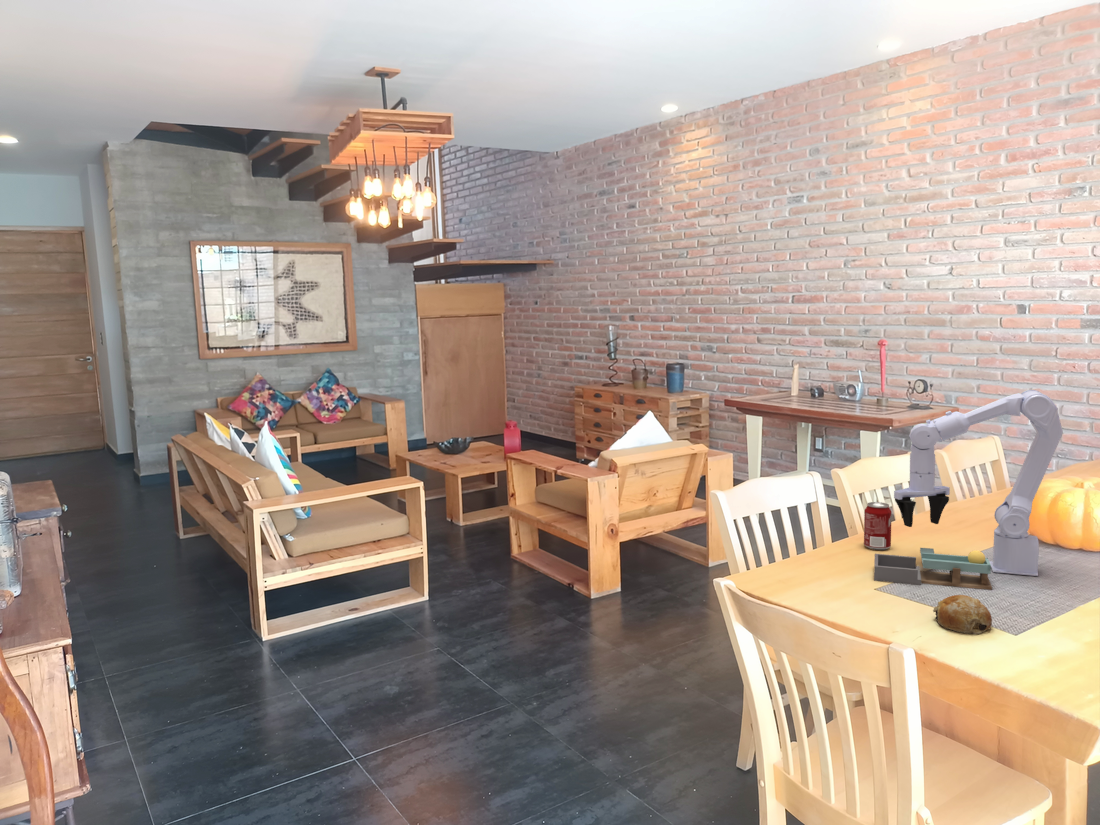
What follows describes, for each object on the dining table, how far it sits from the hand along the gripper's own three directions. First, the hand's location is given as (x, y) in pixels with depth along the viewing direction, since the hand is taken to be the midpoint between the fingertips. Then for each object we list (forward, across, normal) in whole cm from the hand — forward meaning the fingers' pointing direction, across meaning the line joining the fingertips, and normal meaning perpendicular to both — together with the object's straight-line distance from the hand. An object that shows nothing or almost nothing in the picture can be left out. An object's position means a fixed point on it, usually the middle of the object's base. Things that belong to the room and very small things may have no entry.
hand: (921, 524), depth 199 cm
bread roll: (+10, +19, +37) cm, 43 cm away
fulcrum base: (+10, +2, +14) cm, 18 cm away
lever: (+7, -1, +11) cm, 13 cm away
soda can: (+10, +3, -14) cm, 17 cm away
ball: (+4, -2, +17) cm, 18 cm away
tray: (+10, +12, +7) cm, 17 cm away
